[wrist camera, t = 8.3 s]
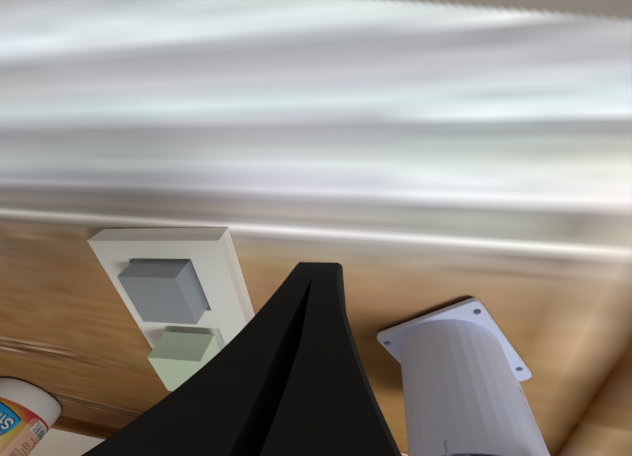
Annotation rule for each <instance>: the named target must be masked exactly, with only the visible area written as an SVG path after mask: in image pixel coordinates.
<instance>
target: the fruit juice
mask: <svg viewBox="0 0 632 456" xmlns="http://www.w3.org/2000/svg"><path fill="white" fill-rule="evenodd" d="M60 413H61V406H60V404H59V403H58V402H57V401H56V399H54V398H53V397H52V396H51V395H50V394H48V393H47V392H45V391H43V390H42V389H40V388H38V387H36V386H34V385H32V384H30V383H27V382H24V381H21V380H18V379H14V378H0V456H28V455H29V453H30V452H31V451H32V450H33V449H34V447H35V446H36V445H37V444H38V442H39V441H40V440H41V439H42V437H43V436H44V435H45V434H46V433H47V431H48V430H49V429H50V428H51V426H52V425H53V424H54V423H55V422H56V420H57V419H58V417H59V416H60Z"/></svg>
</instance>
